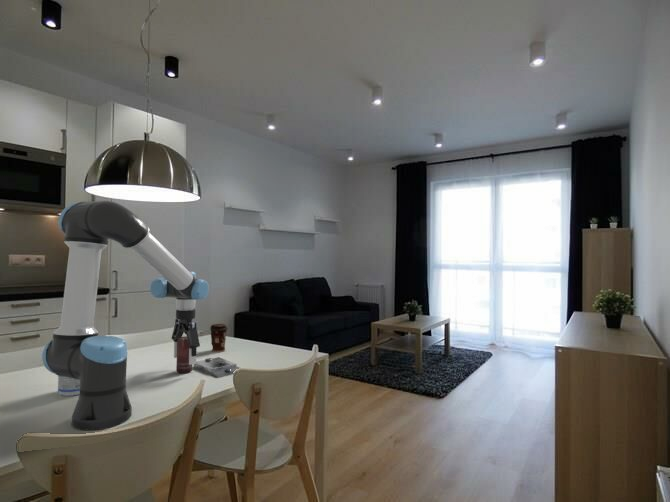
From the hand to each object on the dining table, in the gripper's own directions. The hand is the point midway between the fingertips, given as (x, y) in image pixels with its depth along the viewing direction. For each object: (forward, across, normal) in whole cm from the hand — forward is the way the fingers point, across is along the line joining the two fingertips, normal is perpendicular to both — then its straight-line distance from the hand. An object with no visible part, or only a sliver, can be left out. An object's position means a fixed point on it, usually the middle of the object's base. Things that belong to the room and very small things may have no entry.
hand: (184, 360), depth 162 cm
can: (+5, 0, 0) cm, 5 cm away
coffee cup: (+5, +22, -28) cm, 36 cm away
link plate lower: (+5, -9, -12) cm, 15 cm away
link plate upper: (+5, -3, -12) cm, 13 cm away
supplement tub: (+5, +3, +38) cm, 38 cm away
